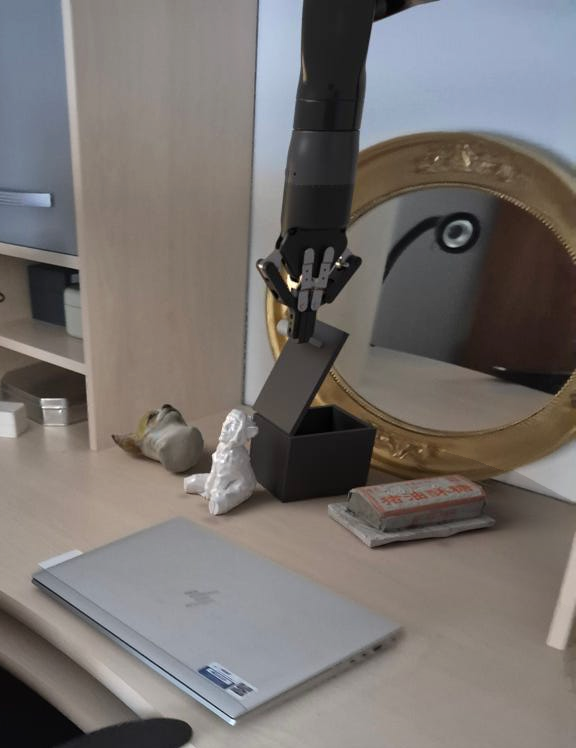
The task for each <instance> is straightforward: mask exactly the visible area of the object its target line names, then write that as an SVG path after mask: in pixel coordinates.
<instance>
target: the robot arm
mask: <svg viewBox="0 0 576 748" xmlns="http://www.w3.org/2000/svg"><path fill="white" fill-rule="evenodd" d="M435 2H440V0H302V7H301V8H302V9H301V28H300V69H299V75H298V81H297V82H298V83H297V88H296V93H295V94H296V95H295V104H294V112H293V113H294V114H293V122H292V131H291V135H290V136H291V137H290V142H289V146H288V149H287V155H286V165H285V169H284V184H283V191H282V192H283V193H282V202H281V211H280V232H279V235H278V237H277V239H276V241H275V245H274V248H275V249H274V250H273V251H272V252H271V253H270V254H268V256H267V257H266V258H258V259H257V261H256V262H255V268H256V270H257V271H258V273H259V274H260V277H261V278H262V280H263V282H264V283H265V285H266V286H267V288H268V290H269V292H270V293H271V295H272V297H273V298H274V300H275V302H276V303H278V304H280V305H283V306H285V307H287V308H288V311H289V312H288V319H287V320H288V328H287V335H288V337H290V340H291V341H292V342H294V343H296V344H302V343H308V342H309V340H310V338H312V336H313V334H314V328H315V320H316V319H317V312H318V311H319V309H320V307H322V306H324V305H326V304H328V305H330V304H332V303H333V302H334V301H335V300H336V298H338V296H339V294H340V293H341V292H342V291H343V289H344V288H345V287H346V285H347V284H348V283H349V281H351V279H352V277H353V276H355V273H356V272H357V271H358V269H360V267H361V265H362V263H363V259H362V257H361V256H359V255H356V254H354V253H353V252H352V251H351V250H350V249H349V248H348V244H349V240H348V235H347V227H348V225H349V223H350V220H351V212H352V207H353V201H354V199H353V198H354V192H355V187H356V186H355V185H356V178H357V172H358V164H359V157H360V136H361V127H362V121H363V113H364V106H365V100H366V91H367V59H368V54H369V53H368V52H369V48H370V42H371V36H372V31H373V25H374V23H377V22H379V21H382V20H385V19H387V18H390V17H393V16H394V15H395V16H396V15H398V14H400V13H402V12H405V11H407V10H409V9H412V8H414V7H417V6H420V5H425V4H431V3H435ZM283 268H284V270H285V272H286V273H287V281H286V282H285V280H284V278H283V276H282V275H281V272H282V270H283ZM288 337H287V338H288Z"/></svg>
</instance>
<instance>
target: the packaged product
mask: <svg viewBox="0 0 576 748" xmlns="http://www.w3.org/2000/svg"><path fill="white" fill-rule="evenodd" d="M486 496H487V493H486V492H485V490H484V489H483V487H482V486H481V485H480V484H477V483H476V482H473V481H471V480H470V479H469V478H467V477H465V476H463V475H461V474H457V473H456V474H447V475H439V476H432V477H423V478H417V479H410V480H402V481H396V482H395V481H394V482H388V483H381V484H373V485H366V487H359V488H355V489H352V490H351V491H349V493H348V494H347V501H344V502H343V501H342V502H337V503H336V502H335V503H329V504H327V515H328V516H329V517H330V518H331V519H333V520H334V521H336V522H337V523H338V524H340V525H341V526H343V527H344V528H345V529H346V530H348V531H349V532H350V533H352V534H353V535H355V536H356V537H357V538H358V539H359V540H360V541H362V542H363V543H364V544H365V545H366V546H367V547H368V548H374V547H378V546H381V545H382V546H383V545H386V544H389V543H393V542H404V541H412V540H420V539H426V538H427V539H429V538H447V537H450V536H453V535H454V534H457V533H460V532H467V531H470V530H475V529H481V528H491V527H493V526H495V524H496V520H495V519H494V518H492V517H490V516H488V515H487V514H485V513H483V512H484V511H485V510H486V508H487V505H488V504H487V500H486Z"/></svg>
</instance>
